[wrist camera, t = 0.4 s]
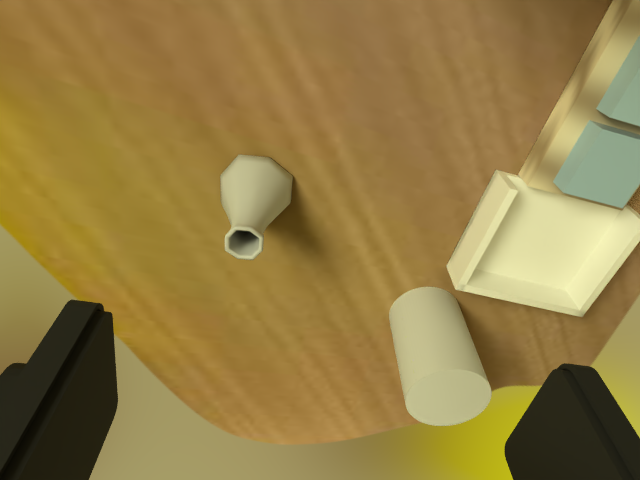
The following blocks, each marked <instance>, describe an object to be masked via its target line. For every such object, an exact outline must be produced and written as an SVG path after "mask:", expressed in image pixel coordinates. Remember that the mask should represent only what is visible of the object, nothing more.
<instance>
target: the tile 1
mask: <svg viewBox="0 0 640 480" xmlns="http://www.w3.org/2000/svg"><path fill="white" fill-rule="evenodd" d="M553 182H554V184H555V185H556V186H557V187H558V188H559V189H560V190H561V191H562V192H563V193H566V194H570V195H574V196H577V197H581V198H585V199H589V200H593V201H596V202H600V203H604V204H608V205H612V206H616V207H619V208H623V207H624V206H625V204H626V203H627V202H628V200H629V199H630V197H631V196H632V194H633V193H634V192H635V190H636V189H637V187H638V186H639V184H640V135H639V134H636V133H632V132H629V131H625V130H622V129H619V128H615V127H612V126H608V125H605V124H601V123H598V122H594V121H591V120H589V121H588V123H587V125H586V126H585V128H584V130H583V132H582V133H581V135H580V137H579V138H578V140H577V142H576V143H575V145H574V147H573V148H572V150H571V152H570V154H569V155H568V157H567V159H566V160H565V162H564V164H563V165H562V167H561V169H560V170H559V172H558V174H557V175H556V177H555V179H554V181H553Z"/></svg>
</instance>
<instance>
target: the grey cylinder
mask: <svg viewBox="0 0 640 480" xmlns="http://www.w3.org/2000/svg"><path fill="white" fill-rule="evenodd" d="M389 321H390V326H391V331H392V336H393V341H394V347H395V352H396V357H397V362H398V367H399V372H400V378H401V383H402V388H403V393H404V398H405V404H406V408H407V410H408V412H409V413H410V414H411V416H413V417H414V418H415V419H417V420H418V421H420V422H423V423H426V424H429V425H436V426H448V425H455V424H459V423H463V422H465V421H468V420H470V419H472V418H474V417H476V416H477V415H478V414H480V413H481V412H482V411H483V410H484V409H485V408H486V407H487V405H488V404H489V402H490V399H491V393H492V392H491V387H490V384H489V382H488V379H487V377H486V374H485V372H484V369H483V366H482V364H481V361H480V359H479V356H478V353H477V351H476V348H475V346H474V343H473V340H472V338H471V335H470V333H469V330H468V327H467V325H466V322H465V320H464V317H463V315H462V312H461V309H460V307H459V304H458V302H457V300H456V298H455V297H454V296H453V295H452V294H451V293H449V292H448V291H446V290H443V289H440V288H436V287H421V288H416V289H413V290H410V291H408V292H406V293H404V294H403V295H401V296H400V297H399V298H398V299H397V300H396V301H395V302H394V303H393V305H392V307H391V309H390V313H389Z"/></svg>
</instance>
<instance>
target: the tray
mask: <svg viewBox="0 0 640 480" xmlns="http://www.w3.org/2000/svg"><path fill="white" fill-rule="evenodd" d="M639 241H640V215H639V214H638V213H637V212H636V211H635V210H634V209H633V208H631V207H630V206H629V205H628V204H627V205H626V206H625V208H624V209H623V210H622V211H621V210H617V209H613V208H610V207H606V206H602V205H598V204H594V203H591V202H587V201H583V200H579V199H575V198H571V197H568V196H564V195H560V194H556V193H552V192H548V191H545V190H541V189H537V188H533V187H529V186H527V185H526V183H525V182H524V181H523V180H522V179H521V177H520V176H518V175H514V174H510V173H507V172H503V171H499V170H495V172H494V174H493V176H492V178H491V180H490V182H489V184H488V186H487V188H486V190H485V192H484V194H483V196H482V198H481V200H480V202H479V204H478V206H477V207H476V209H475V211H474V213H473V215H472V217H471V219H470V221H469V223H468V225H467V227H466V229H465V231H464V233H463V235H462V237H461V239H460V241H459V243H458V244H457V246H456V248H455V250H454V252H453V254H452V256H451V258H450V260H449V262H448V264H447V266H446V267H447V269H448V272H449V274H450V277H451V279H452V282H453V285H454V287H455V289H456V290H460V291H465V292H470V293H474V294H479V295H483V296H488V297H492V298H497V299H501V300H506V301H511V302H515V303H520V304H524V305H529V306H533V307H538V308H543V309H547V310H552V311H556V312H561V313H565V314H570V315H575V316H579V317H583V315H584V314H585V313H586V311H587V310H588V309H589V307H590V306H591V305H592V303H593V302H594V301H595V300H596V298H597V297H598V296H599V294H600V293H601V292H602V290H603V289H604V288H605V286H606V285H607V284H608V282H609V281H610V280H611V278H612V277H613V276H614V274H615V273H616V272H617V270H618V269H619V268H620V266H621V265H622V264H623V262H624V261H625V260H626V258H627V257H628V256H629V254H630V253H631V252H632V251H633V249H634V248H635V247H636V245H637V244H638V243H639Z"/></svg>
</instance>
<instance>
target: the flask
mask: <svg viewBox="0 0 640 480" xmlns="http://www.w3.org/2000/svg"><path fill="white" fill-rule="evenodd" d="M220 176H221V203H222V206H223V208H224V210H225V212H226V214H227V216H228V218H229V221H230V224H231V230H230V231H229V232H228V233H227V234H226V235H225V251H227V252H228V253H230V254H231V255H233V256H234V257H235V258H237V259H246V260H254V259H255V258H256V257H257V256H258V255H259V254H260V253H261V252H262V251H263V240H264V235H263V233H264V231H265V229H266V227H267V226H268V225H269V224H270V223H271V222H272V221H273V220H274V219H275V218H276V217H277V216H278V215H279V214H280V213H281V212H282V211H283V210H284V209H285V208H286V207H287V206H288V205H289V204H290V203H291V194H292V181H293V176H292V175H291V174H290V173H288V172H287V171H286V170H285V169H283V168H282V167H281V166H280V165H278V164H277V163H276V162H275V161H274V160H272V159H271V158H270V157H260V156H249V155H238V156H237V157H236V158H235V159H234V161H233V162H232V163H231V164H230V165H229V166H228V167H227V169H226V170H225V171H224V172H223V173H222V174H221V175H220Z"/></svg>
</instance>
